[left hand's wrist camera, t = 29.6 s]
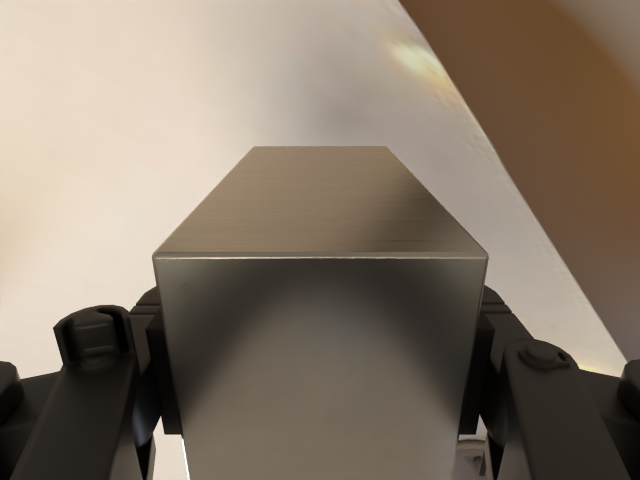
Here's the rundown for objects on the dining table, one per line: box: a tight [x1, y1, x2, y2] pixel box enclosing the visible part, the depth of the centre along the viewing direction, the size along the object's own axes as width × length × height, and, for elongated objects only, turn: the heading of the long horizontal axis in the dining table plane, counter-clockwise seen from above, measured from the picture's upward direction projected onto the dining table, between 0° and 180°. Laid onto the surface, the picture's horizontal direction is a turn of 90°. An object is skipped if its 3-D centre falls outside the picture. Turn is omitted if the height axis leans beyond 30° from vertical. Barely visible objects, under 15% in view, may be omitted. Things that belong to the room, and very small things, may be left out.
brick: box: [152, 146, 489, 480], centre depth 13 cm, size 7×5×11 cm
